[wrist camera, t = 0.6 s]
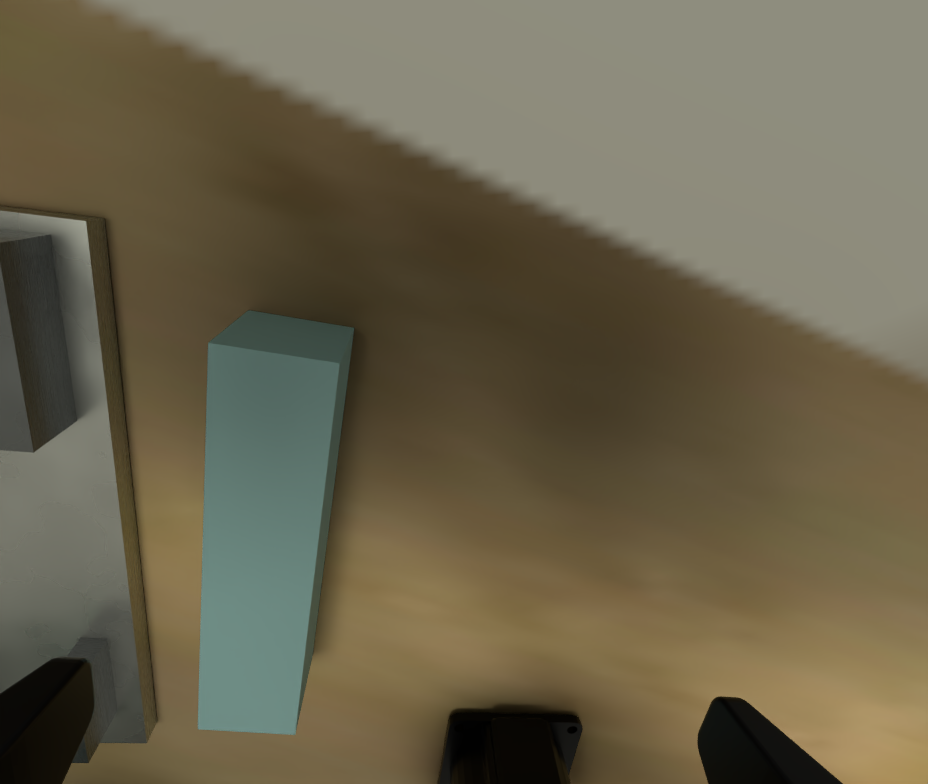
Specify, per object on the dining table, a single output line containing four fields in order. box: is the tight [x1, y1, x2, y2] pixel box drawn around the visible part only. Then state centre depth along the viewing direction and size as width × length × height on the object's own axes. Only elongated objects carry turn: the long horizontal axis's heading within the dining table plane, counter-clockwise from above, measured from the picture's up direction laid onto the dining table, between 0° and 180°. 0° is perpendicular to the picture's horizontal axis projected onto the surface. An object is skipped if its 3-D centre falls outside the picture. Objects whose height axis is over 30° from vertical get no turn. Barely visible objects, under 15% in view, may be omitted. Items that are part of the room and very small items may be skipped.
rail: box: [198, 310, 354, 735], centre depth 19 cm, size 15×4×4 cm, turn 169°
